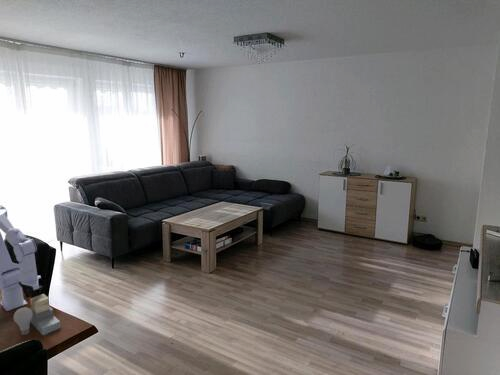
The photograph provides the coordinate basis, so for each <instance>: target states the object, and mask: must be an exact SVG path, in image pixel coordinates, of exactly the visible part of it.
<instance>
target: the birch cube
mask: <svg viewBox="0 0 500 375" xmlns="http://www.w3.org/2000/svg"><path fill="white" fill-rule="evenodd" d="M29 299H30V300H29V301H30V308H32V311H33V312H34V313H35V314H36V315H37V314H39V313H42V312H44V311H47V310H50V307H51V306H50V299H49V297H48V296H47V295H46V294H45V293H42V294H40V295H39V296H36V297H33V298H31V297H29Z"/></svg>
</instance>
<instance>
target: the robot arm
mask: <svg viewBox="0 0 500 375" xmlns="http://www.w3.org/2000/svg"><path fill="white" fill-rule="evenodd" d="M0 230H1V231H2V232H3V233H4V234H5V236H4V237H5V240H6V241H7V242H8V243H9V244H10V245H11V246H12V248H13V253H14V255H15V258H16V261H17V262H18V263H15V262H13V261H12V259H11V256H10V253H9V250H8V247H7V246H6V242H5V241H4V237H3V235H2V233H1V231H0V293H1V299H2V301H1V302H0V305H1V307H2V308H4V310H5V311H6V312H9V311H12V310H13V309H17V308H21V307H22V306H25V305H28V301H26V299H24V296H25V297H26V298H27V299H28V298H33V297H36V296H39V295H41V292H42V290H43V288H44V287H43V285H40V284H39V279H41V278H42V277H41V275H38V270H37V264H36V263H37V262H36V256H35V253H36V252H37V249H38V248H37V244H36V242H35V240H34V239H32V238H30V237H27V236H26V235H25V234H24V233H23V232H22V231H21V229H19V228H15V227H14V226H13V224H12V223H11V221H10V220H9V218H8V211H7V209H6V207H5V206H4V205H0Z"/></svg>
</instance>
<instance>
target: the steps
mask: <svg viewBox="0 0 500 375" xmlns="http://www.w3.org/2000/svg"><path fill="white" fill-rule="evenodd" d="M28 308H29V307H28ZM29 309H31V311H32V308H31V307H30V308H29ZM32 313H33V316H32V319H31V321H30V323H31V325H32V326H34V328H35V329H36V330H37V331H38V332H39V333H40V334H41V335H42V336H45V335H47V334H50V333H51V332H54V331H57V330H59V329H61V326H62V324H61V321H60V320H59V319H58V318H57V317H56V316H55V314H54V309H53V308H52V307H51V306H50V310H47V311H44V312H42V313H39V314H37V315H36V314H35V313H34V312H33V311H32Z"/></svg>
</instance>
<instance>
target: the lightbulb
mask: <svg viewBox="0 0 500 375" xmlns="http://www.w3.org/2000/svg"><path fill="white" fill-rule="evenodd" d="M32 316H33V313H32V311H31V309H29V307H26V306H25V307H19V308H18V309H16V311H15V312H14V313H13V320H14V323H16V324H17V325H18V327H19V330H20V332H21V335H22V336H27V335H29V334H30V326H31V324H30V323H31V322H30V321H31V319H32Z"/></svg>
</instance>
